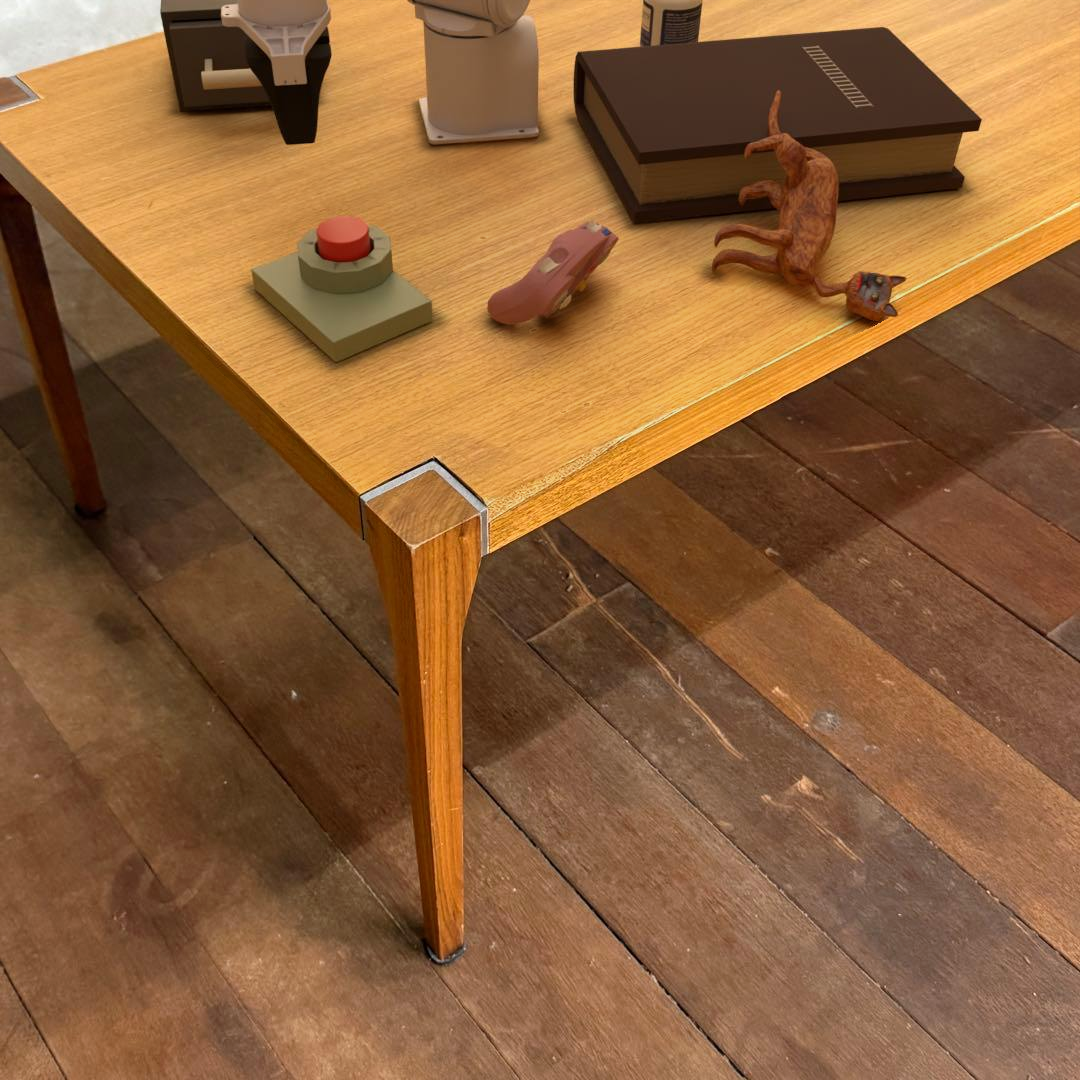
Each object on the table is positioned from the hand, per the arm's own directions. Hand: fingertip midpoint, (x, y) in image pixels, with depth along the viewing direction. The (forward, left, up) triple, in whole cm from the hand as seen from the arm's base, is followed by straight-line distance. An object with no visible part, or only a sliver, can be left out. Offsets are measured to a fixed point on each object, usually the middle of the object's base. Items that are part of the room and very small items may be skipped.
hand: (299, 139), depth 86 cm
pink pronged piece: (-17, +11, -9) cm, 21 cm away
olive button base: (-2, +9, -8) cm, 12 cm away
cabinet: (+4, -29, -8) cm, 31 cm away
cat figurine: (-31, +4, -4) cm, 32 cm away
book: (-38, -9, -8) cm, 40 cm away
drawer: (+4, -26, -7) cm, 27 cm away
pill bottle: (-35, -25, -9) cm, 44 cm away
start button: (-2, +7, -5) cm, 9 cm away
